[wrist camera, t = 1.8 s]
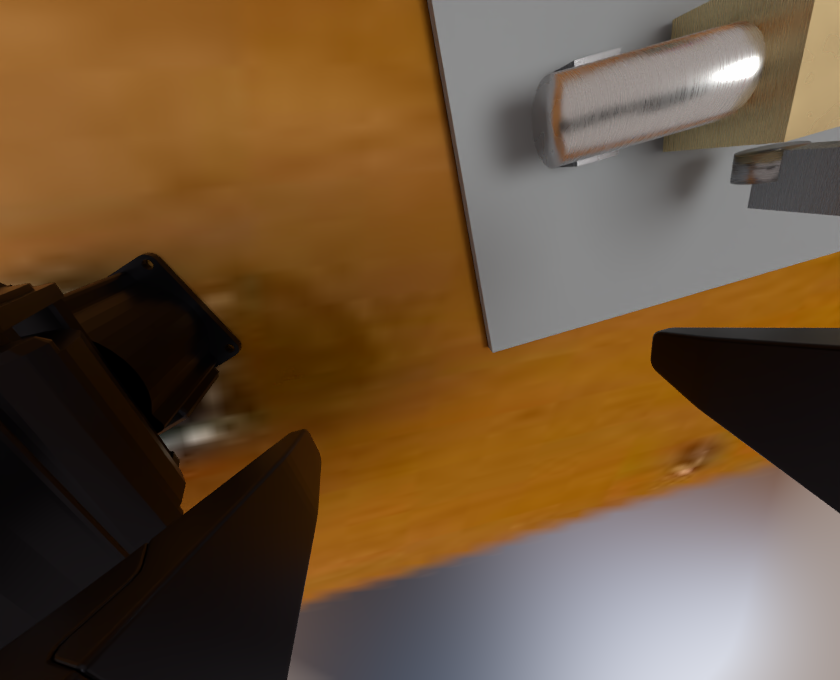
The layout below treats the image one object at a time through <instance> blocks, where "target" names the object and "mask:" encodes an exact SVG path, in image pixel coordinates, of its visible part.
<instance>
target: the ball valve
mask: <svg viewBox="0 0 840 680" xmlns="http://www.w3.org/2000/svg"><path fill="white" fill-rule="evenodd" d="M839 126H840V0H710V1H708V2H706V3H704V4H703V5H701V6H699V7H697V8H695V9H693V10H691V11H689V12H687V13H685V14H683V15H681V16H679V17H677V18H675V19H673V20H672V33H671V40H668V41H665V42H661V43H657V44H654V45H650V46H647V47H643V48H640V49H636V50H633V51H629V52H625V53H622V54H621V47H620V48H616V49H613V50H609V51H606V52H602V53H598V54H595V55H591V56H588V57H584V58H581V59H577V60H574V61H572V62H570V63H569V64H567V65H565V66H563V67H561V68H560V69H558V70H556V71H555V72H554V73H551V74H548V75H546V76H545V77H544V78H543V79H542V80H541V82H540V83H539V85H538V88H537V90H536V93H535V97H534V102H533V109H532V131H533V138H534V143H535V147H536V150H537V153H538V155H539V157H540V159H541V161H542V162H543V163H544V164H545V165H546V166H547V167H549V168H555V167H559V166H560V167H576V166H581V165H584V164H588V163H591V162H595V161H598V160H602V159H605V158H609V157H612V156H616V155H618V153H619V149H622V148H626V147H629V146H633V145H636V144H640V143H643V142H647V141H650V140H654V139H657V138H661V137H664V141H663V152H669V151H681V150H694V149H706V148H719V147H731V146H744V145H759V144H769V143H781V142H787V141H790V140H794V139H797V138H801V137H804V136H808V135H811V134H815V133H818V132H822V131H825V130H829V129H832V128H835V127H839Z"/></svg>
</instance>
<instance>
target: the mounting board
mask: <svg viewBox="0 0 840 680" xmlns="http://www.w3.org/2000/svg"><path fill="white" fill-rule="evenodd" d="M708 1H710V0H427V3H428V9H429V14H430V20H431V25H432V31H433V37H434V42H435V48H436V54H437V59H438V65H439V70H440V76H441V82H442V87H443V93H444V99H445V104H446V110H447V115H448V121H449V127H450V132H451V138H452V144H453V149H454V155H455V160H456V166H457V172H458V177H459V183H460V189H461V194H462V200H463V205H464V211H465V217H466V222H467V228H468V234H469V239H470V245H471V250H472V256H473V262H474V267H475V273H476V279H477V284H478V290H479V295H480V301H481V307H482V312H483V318H484V324H485V329H486V335H487V340H488V346H489V348H490V350H491V351H492V352H497V351H500V350H504V349H507V348H510V347H514V346H517V345H521V344H524V343H528V342H531V341H534V340H538V339H541V338H545V337H548V336H551V335H555V334H558V333H562V332H565V331H569V330H572V329H575V328H579V327H582V326H586V325H589V324H592V323H596V322H599V321H603V320H606V319H610V318H613V317H616V316H620V315H623V314H627V313H630V312H633V311H637V310H640V309H644V308H647V307H651V306H654V305H657V304H661V303H664V302H668V301H671V300H674V299H678V298H681V297H685V296H688V295H692V294H695V293H698V292H702V291H705V290H709V289H712V288H715V287H719V286H722V285H726V284H729V283H733V282H736V281H739V280H743V279H746V278H750V277H753V276H756V275H760V274H763V273H767V272H770V271H774V270H777V269H780V268H784V267H787V266H791V265H794V264H797V263H801V262H804V261H808V260H811V259H815V258H818V257H821V256H825V255H828V254H832V253H835V252H838V251H840V216H833V215H821V214H810V213H798V212H786V211H775V210H763V209H751V208H747V207H748V202H749V196H750V191H751V186H752V184H750V185H736V184H731V183H730V177H731V171H732V164H733V158H734V154H735V153H737V152H740V151H743V150H747V149H751V148H755V147H760V146H765V145H770V144H777V143H769V144H759V145H744V146H731V147H719V148H706V149H694V150H681V151H669V152H663V141H664V137H661V138H657V139H654V140H650V141H647V142H643V143H640V144H636V145H633V146H629V147H626V148H622V149H619V153H618V155H616V156H612V157H609V158H605V159H602V160H598V161H595V162H591V163H588V164H584V165H581V166H576V167H560V166H559V167H555V168H549V167H547V166H546V165H545V164H544V163H543V162H542V161H541V159H540V157H539V155H538V153H537V150H536V147H535V143H534V138H533V131H532V109H533V102H534V97H535V93H536V90H537V88H538V85H539V83H540V82H541V80H542V79H543V78H544V77H545V76H546V75H548V74H551V73H554V72H555V71H556V70H558V69H560V68H561V67H563V66H565V65H567V64H569V63H570V62H572V61H574V60H577V59H581V58H584V57H588V56H591V55H595V54H598V53H602V52H606V51H609V50H613V49H616V48H620V47H621V54H622V53H625V52H629V51H633V50H636V49H640V48H643V47H647V46H650V45H654V44H657V43H661V42H665V41H668V40H671V33H672V20H673V19H675V18H677V17H679V16H681V15H683V14H685V13H687V12H689V11H691V10H693V9H695V8H697V7H699V6H701V5H703V4H704V3H706V2H708ZM792 141H811V143H814V142H828V141H840V126H839V127H835V128H832V129H829V130H825V131H822V132H818V133H815V134H811V135H808V136H804V137H801V138H797V139H794V140H790V141H787V142H792ZM781 143H784V142H781Z"/></svg>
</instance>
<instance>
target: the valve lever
mask: <svg viewBox="0 0 840 680" xmlns="http://www.w3.org/2000/svg"><path fill="white" fill-rule="evenodd" d="M730 183H731V184H736V185H750V184H752V186H751V191H750V196H749V202H748V207H747V208H751V209H763V210H775V211H786V212H798V213H810V214H821V215H833V216H840V141H828V142H814V143H811V141H792V142H784V143H777V144H770V145H765V146H760V147H755V148H751V149H747V150H743V151H740V152H737V153H735V154H734V158H733V164H732V171H731V177H730Z"/></svg>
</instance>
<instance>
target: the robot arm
mask: <svg viewBox="0 0 840 680" xmlns="http://www.w3.org/2000/svg"><path fill="white" fill-rule="evenodd" d="M146 260H150V261H151V262H152V263H153V268H151V267H150V266H148V265H147V262H146ZM228 344H230V345H232V346H234V349H230V348H229V347H228V346H227V345H228ZM240 350H241V343H240V341H239V340H238V339H237V338H236V337H235V336H234V335H233V334H232V333H231V332H230V331H229V330H228V329H227V328H226V327H225V325H224V324H223V323H222V322H221V321H220V320H219V319H218V318H217V317H216V316H215V315H214V314H213V313H212V312H211V311H210V310H209V309H208V308H207V307H206V306H205V304H204V303H203V302H202V301H201V300H200V299H199V298H198V297H197V296H196V295H195V294H194V293H193V292H192V291H191V290H190V289H189V288H188V287H187V286H186V284H185V283H184V282H183V281H182V280H181V279H180V278H179V277H178V276H177V275H176V274H175V273H174V272H173V271H172V270H171V269H170V268H169V267H168V266H167V265H166V263H165V262H164V261H163V260H162V259H161V258H160V257H158V256H157V255H155V254H153V253H146V254H143V255H140V256H138V257H137V258H135V259H134V260H132V261H131V262H129V263H128V264H126V265H125V266H123V267H122V268H120V269H119V270H117V271H116V272H114V273H113V274H111V275H110V276H108V277H107V278H104V279H102V280H99V281H97V282H94V283H92V284H89V285H86V286H84V287H81V288H79V289H76V290H74V291H71V292H69V293H66V294H63V293H62V292H61V291H60V289H59V288H58V286H57V285H56V283H55V282H54V283H49V284H44V285H39V286H35V287H32V285H31V284H30V283H27V284H21V285H16V286H12V285H8V286H7V285H4V284H2V283H0V680H287V677H288V671H289V666H290V661H291V655H292V650H293V644H294V639H295V634H296V629H297V623H298V618H299V613H300V607H301V602H302V597H303V591H304V586H305V581H306V575H307V570H308V565H309V559H310V554H311V549H312V543H313V538H314V533H315V527H316V522H317V515H318V505H319V489H320V473H321V457H320V453H319V451H318V449H317V447H316V445H315V443H314V441H313V439H312V437H311V435H310V433H309V432H308V431H307V430H306V429H302V430H298V431H295V432H291V433H289V434H288V435H287V436H285V437H284V438H283V439H281V440H280V441H279V442H277V443H276V444H275V445H274V446H272V447H271V448H270V449H268V450H267V451H266V452H264V453H263V454H262V455H260V456H259V457H258V458H257V459H255V460H254V461H253V462H251V463H250V464H249V465H247V466H246V467H245V468H244V469H242V470H241V471H240V472H238V473H237V474H236V475H234V476H233V477H232V478H230V479H229V480H228V481H227V482H225V483H224V484H223V485H221V486H220V487H219V488H217V489H216V490H215V491H214V492H212V493H211V494H210V495H208V496H207V497H206V498H204V499H203V500H202V501H200V502H199V503H198V504H197V505H195V506H194V507H193V508H191V509H190V510H189V511H187V512H186V513H185V514H184V515H183V510H182V509H181V507H180V504H181V502H182V498H183V493H184V489H185V484H186V483H185V480H184V477H183V475H182V472H181V470H180V469H179V462H180V461H179V459H178V457H177V456H176V455H175V453H174V452H173V451H169V449H168V448H167V447H166V445H165V444H164V442H163V441H162V439H161V438H160V437H159V435H160V434H161V433H163V432H165V431H166V430H168V429H170V428H172V427H173V426H175V425H177V424H178V423H180V422H182V421H183V420H185V419H187V418H188V417H189V416H190V414H191V413H192V411H193V410H194V409H195V407H196V406H197V405H198V403H199V402H200V401H201V399H202V398H203V397H204V395H205V394H206V393H207V391H208V390H209V388H210V387H211V386H212V384H213V383H214V382H215V380H216V379H217V378H218V375H219V371H218V370H217V369H216V368H215V367H217V366H218V365H220V364H222V363H223V362H225V361H227V360H228V359H230V358H232V357H233V356H235V355H236V354H237V353H238V352H239V351H240ZM651 364H652V366H653V368H654V369H655V370H656V371H657V372H658V373H659V374H660V375H661V376H662V377H663V378H664V379H665V380H667V381H668V382H669V383H670V384H671V385H672V386H673V387H674V388H676V389H677V390H678V391H679V392H680V393H681V394H682V395H683V396H684V397H686V398H687V399H688V400H689V401H690V402H691V403H692V404H694V405H695V406H696V407H697V408H698V409H700V410H701V411H702V412H704V413H705V414H706V415H707V416H709V417H710V418H712V419H713V420H714V421H716V422H717V423H718V424H720V425H721V426H722V427H724V428H725V429H726V430H728V431H729V432H730V433H732V434H733V435H735V436H736V437H737V438H739V439H740V440H741V441H743V442H744V443H745V444H747V445H748V446H749V447H751V448H752V449H753V450H755V451H756V452H758V453H759V454H760V455H762V456H763V457H764V458H766V459H767V460H768V461H770V462H771V463H772V464H774V465H775V466H776V467H778V468H779V469H781V470H782V471H783V472H785V473H786V474H787V475H789V476H790V477H791V478H793V479H794V480H796V481H797V482H798V483H800V484H801V485H802V486H804V487H805V488H806V489H808V490H809V491H810V492H812V493H813V494H814V495H816V496H817V497H819V498H820V499H821V500H823V501H824V502H825V503H827V504H828V505H829V506H831V507H832V508H834V509H835V510H836V511H837V512H839V513H840V328H668V329H664V330H661V331H658V332H656V333H655V334H654V336H653V340H652V350H651Z"/></svg>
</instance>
